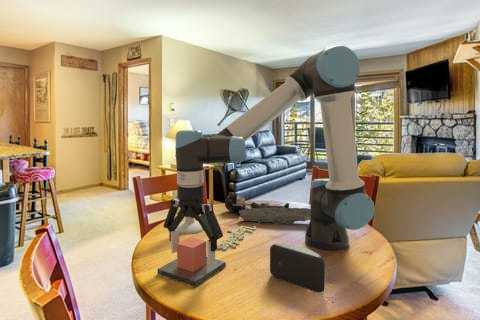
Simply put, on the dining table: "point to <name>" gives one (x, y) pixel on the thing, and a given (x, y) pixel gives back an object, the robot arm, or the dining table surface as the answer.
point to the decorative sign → (236, 235)
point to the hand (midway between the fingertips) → (192, 256)
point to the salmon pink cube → (191, 254)
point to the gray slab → (189, 276)
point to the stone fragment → (276, 215)
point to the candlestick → (189, 226)
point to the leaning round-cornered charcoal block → (298, 266)
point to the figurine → (245, 204)
